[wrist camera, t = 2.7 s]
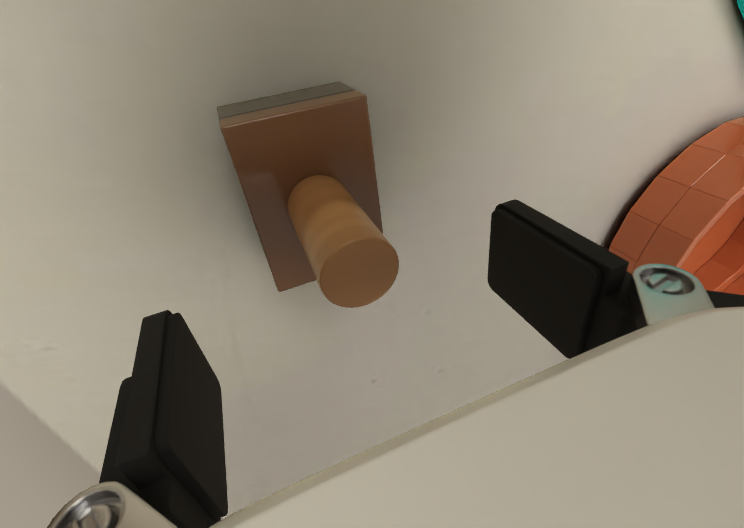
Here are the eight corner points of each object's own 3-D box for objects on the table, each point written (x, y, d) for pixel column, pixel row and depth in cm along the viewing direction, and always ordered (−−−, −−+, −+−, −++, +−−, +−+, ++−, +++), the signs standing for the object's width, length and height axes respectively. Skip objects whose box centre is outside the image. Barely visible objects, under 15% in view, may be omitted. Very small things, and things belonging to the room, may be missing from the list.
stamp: (216, 106, 14) (230, 183, 8) (340, 81, 16) (437, 131, 9) (268, 255, 19) (303, 383, 12) (362, 226, 20) (440, 330, 13)
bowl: (630, 144, 24) (715, 171, 20) (815, 89, 27) (917, 103, 23) (575, 334, 34) (624, 376, 30) (715, 275, 38) (775, 305, 34)
